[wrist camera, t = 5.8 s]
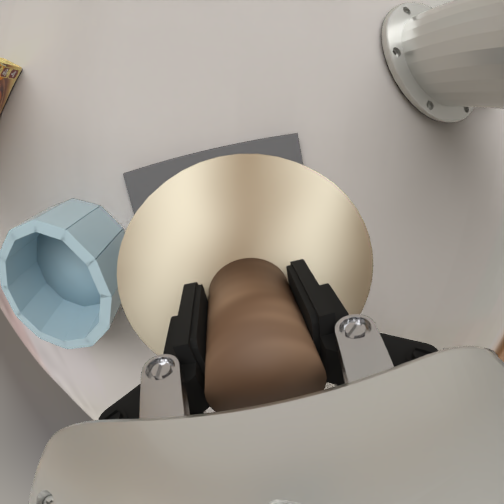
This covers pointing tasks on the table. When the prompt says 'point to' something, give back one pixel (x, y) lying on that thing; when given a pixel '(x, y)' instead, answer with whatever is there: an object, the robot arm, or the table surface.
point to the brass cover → (244, 269)
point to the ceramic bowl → (64, 273)
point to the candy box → (7, 79)
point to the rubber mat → (155, 175)
